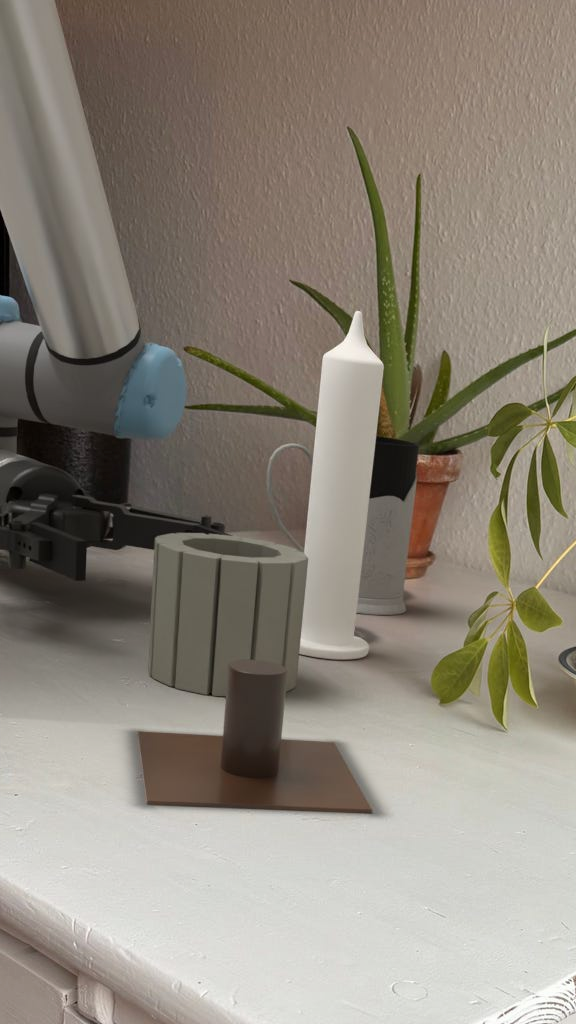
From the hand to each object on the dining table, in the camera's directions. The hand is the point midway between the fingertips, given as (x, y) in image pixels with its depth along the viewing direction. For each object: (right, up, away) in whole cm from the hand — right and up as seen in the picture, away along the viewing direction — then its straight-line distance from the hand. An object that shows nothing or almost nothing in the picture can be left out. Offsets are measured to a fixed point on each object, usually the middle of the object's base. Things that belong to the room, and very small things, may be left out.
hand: (168, 560), depth 92 cm
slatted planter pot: (+4, -9, -2) cm, 10 cm away
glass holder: (+8, +2, +28) cm, 29 cm away
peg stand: (+10, -18, -24) cm, 32 cm away
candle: (+10, -5, +10) cm, 15 cm away
